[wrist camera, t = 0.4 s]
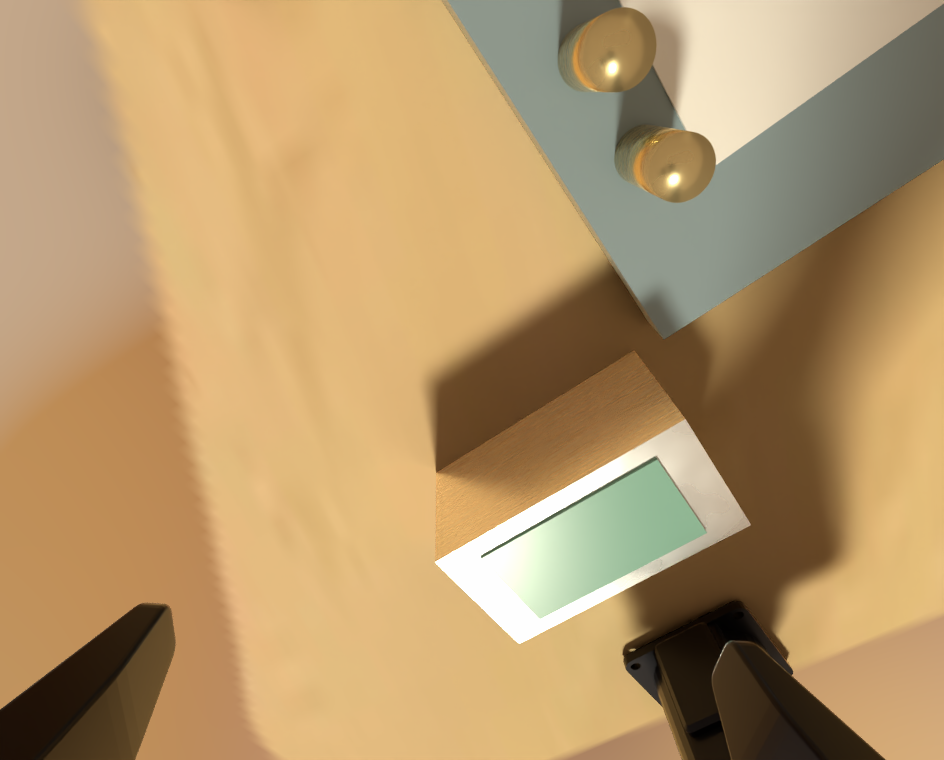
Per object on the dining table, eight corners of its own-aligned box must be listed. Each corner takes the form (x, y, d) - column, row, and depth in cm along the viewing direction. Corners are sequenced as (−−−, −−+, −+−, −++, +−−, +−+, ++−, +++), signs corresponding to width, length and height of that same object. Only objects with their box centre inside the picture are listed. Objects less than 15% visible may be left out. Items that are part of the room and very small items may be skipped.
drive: (690, 439, 23) (752, 527, 18) (504, 544, 25) (519, 646, 20) (633, 348, 21) (686, 421, 16) (436, 470, 23) (435, 564, 18)
